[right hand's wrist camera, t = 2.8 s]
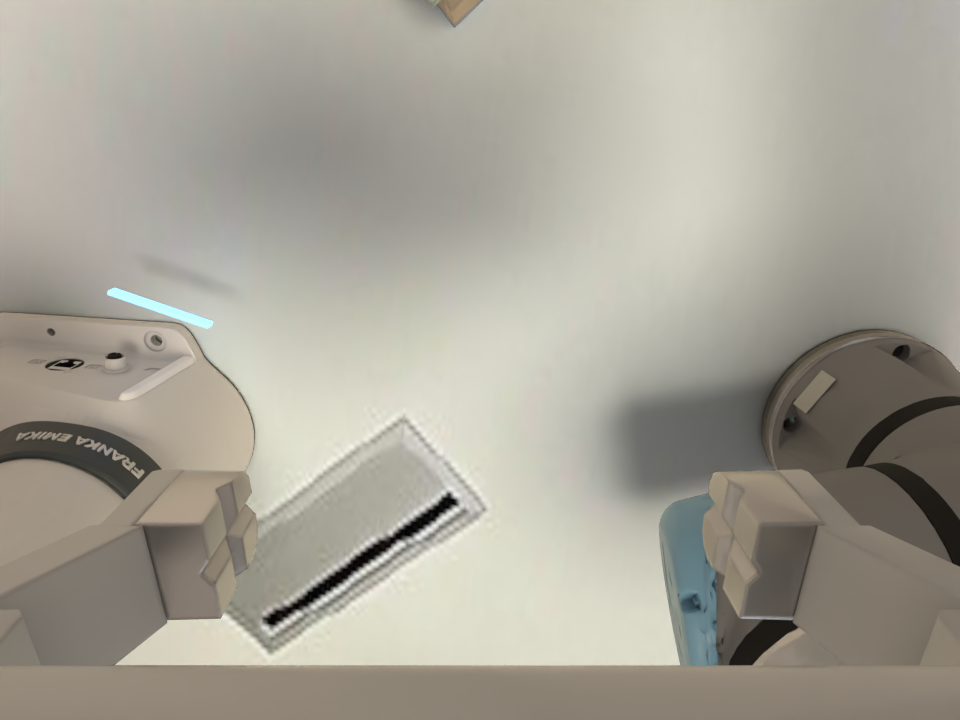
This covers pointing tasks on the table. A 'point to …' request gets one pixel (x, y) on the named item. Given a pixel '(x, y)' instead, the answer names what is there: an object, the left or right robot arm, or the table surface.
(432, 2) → the lid
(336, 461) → the table surface
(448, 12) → the chest
